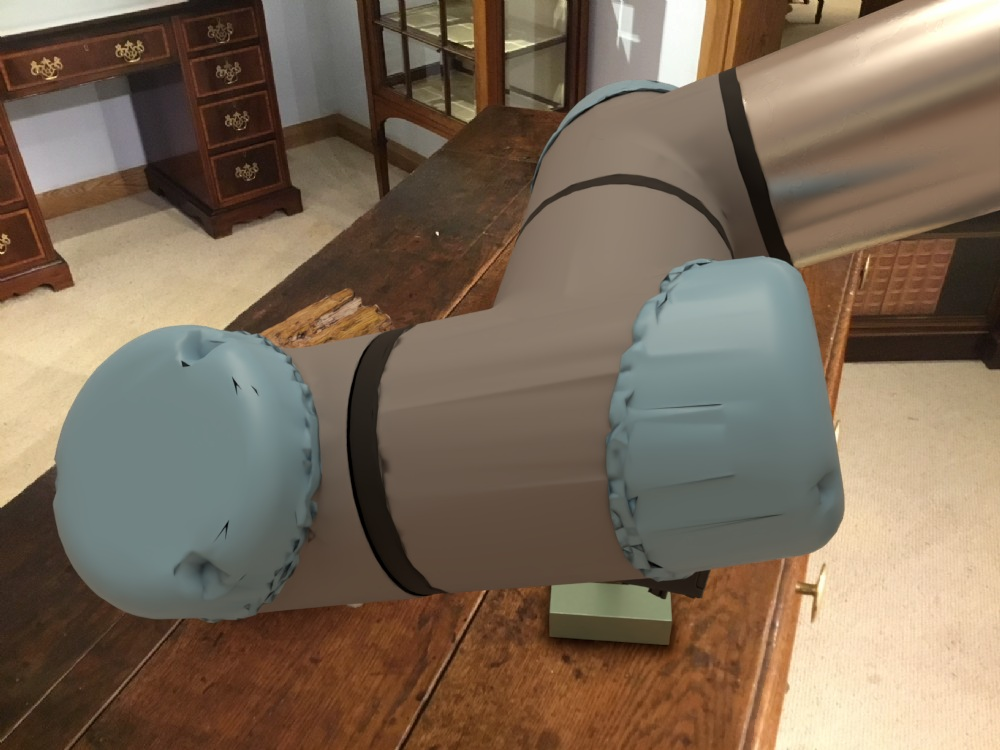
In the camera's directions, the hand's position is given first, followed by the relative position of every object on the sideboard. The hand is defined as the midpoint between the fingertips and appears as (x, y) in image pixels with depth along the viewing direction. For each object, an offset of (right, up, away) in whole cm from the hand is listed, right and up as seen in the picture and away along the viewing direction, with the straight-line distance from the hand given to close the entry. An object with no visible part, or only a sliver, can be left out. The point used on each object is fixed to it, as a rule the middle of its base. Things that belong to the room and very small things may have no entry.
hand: (569, 515), depth 54 cm
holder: (+5, -9, +16) cm, 19 cm away
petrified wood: (-24, +5, +37) cm, 44 cm away
